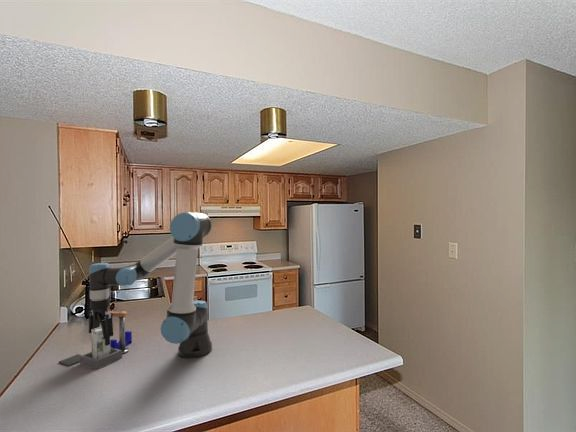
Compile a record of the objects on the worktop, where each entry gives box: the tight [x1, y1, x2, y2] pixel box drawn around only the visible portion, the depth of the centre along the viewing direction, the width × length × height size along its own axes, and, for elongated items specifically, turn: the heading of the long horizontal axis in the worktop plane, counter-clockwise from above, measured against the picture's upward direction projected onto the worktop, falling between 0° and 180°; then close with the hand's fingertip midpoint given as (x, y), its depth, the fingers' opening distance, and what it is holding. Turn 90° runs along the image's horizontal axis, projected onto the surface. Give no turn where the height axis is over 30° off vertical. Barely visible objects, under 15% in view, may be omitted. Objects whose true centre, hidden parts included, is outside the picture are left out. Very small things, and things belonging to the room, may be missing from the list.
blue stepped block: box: [110, 330, 133, 349], centre depth 151 cm, size 12×4×6 cm, turn 170°
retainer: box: [108, 310, 127, 318], centre depth 147 cm, size 17×4×3 cm, turn 77°
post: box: [118, 316, 130, 355], centre depth 146 cm, size 5×5×17 cm
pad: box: [58, 354, 83, 367], centre depth 138 cm, size 8×8×1 cm
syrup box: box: [90, 326, 111, 359], centre depth 137 cm, size 6×6×14 cm
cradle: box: [79, 347, 123, 370], centre depth 137 cm, size 12×12×4 cm
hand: (101, 350), depth 137 cm, fingers closed on syrup box, 6 cm apart
